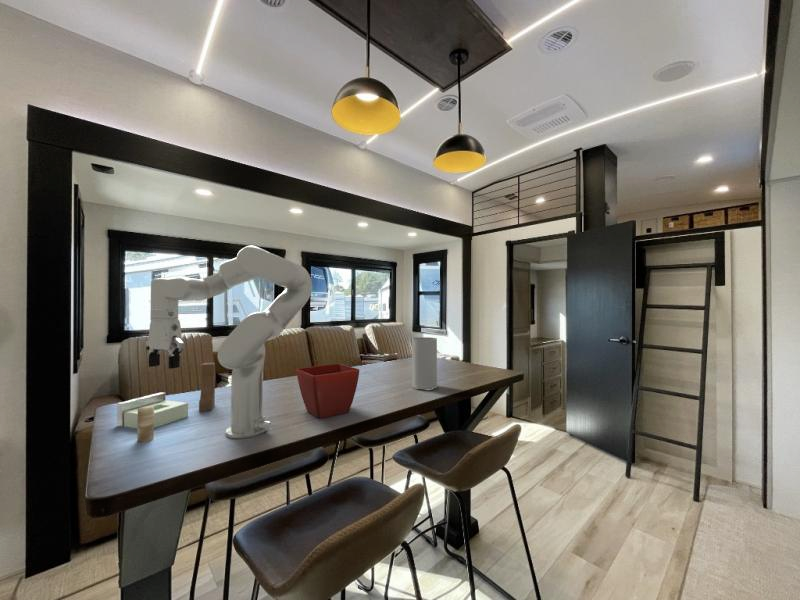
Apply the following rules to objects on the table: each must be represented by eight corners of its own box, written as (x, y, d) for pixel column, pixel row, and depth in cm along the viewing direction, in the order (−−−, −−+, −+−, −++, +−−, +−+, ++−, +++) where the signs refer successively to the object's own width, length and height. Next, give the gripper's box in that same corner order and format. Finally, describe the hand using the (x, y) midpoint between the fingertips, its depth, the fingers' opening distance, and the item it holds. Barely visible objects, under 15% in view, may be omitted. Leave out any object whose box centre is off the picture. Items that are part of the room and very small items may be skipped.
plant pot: (295, 410, 130) (295, 368, 130) (338, 401, 141) (338, 362, 141) (313, 423, 114) (313, 375, 115) (360, 413, 126) (360, 369, 126)
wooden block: (211, 411, 129) (212, 365, 129) (198, 412, 127) (199, 366, 127) (214, 405, 137) (215, 362, 137) (202, 406, 135) (202, 363, 136)
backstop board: (165, 413, 126) (165, 392, 126) (122, 427, 112) (122, 403, 112) (160, 413, 127) (160, 392, 127) (117, 426, 113) (117, 403, 113)
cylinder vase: (438, 390, 159) (438, 339, 159) (413, 390, 159) (412, 339, 159) (435, 384, 171) (435, 337, 172) (411, 384, 171) (411, 337, 172)
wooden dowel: (156, 438, 102) (157, 406, 102) (143, 443, 98) (143, 410, 98) (147, 436, 103) (147, 405, 103) (133, 441, 99) (134, 409, 100)
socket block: (188, 416, 122) (188, 402, 122) (147, 430, 108) (148, 415, 109) (165, 413, 126) (165, 400, 126) (124, 426, 112) (124, 411, 112)
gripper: (193, 315, 108) (193, 366, 108) (159, 315, 115) (158, 363, 114) (170, 315, 101) (170, 370, 101) (135, 315, 108) (134, 367, 107)
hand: (163, 367), depth 108 cm, fingers open, 9 cm apart
